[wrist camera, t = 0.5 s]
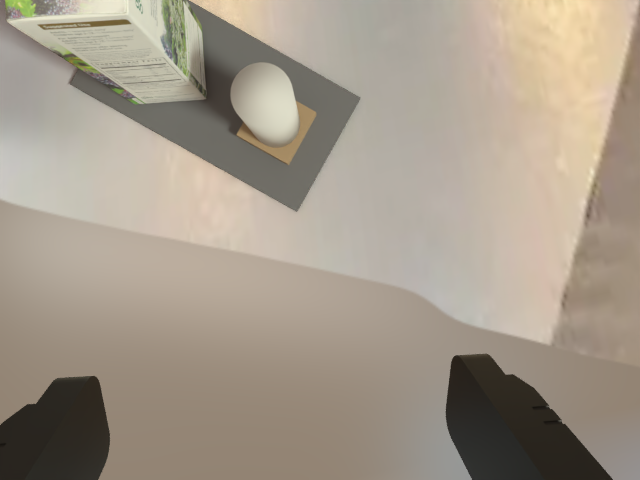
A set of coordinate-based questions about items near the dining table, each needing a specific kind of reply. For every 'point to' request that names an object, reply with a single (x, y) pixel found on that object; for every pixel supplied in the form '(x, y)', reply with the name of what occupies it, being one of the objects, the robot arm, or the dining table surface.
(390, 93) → the dining table surface
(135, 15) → the syrup box
